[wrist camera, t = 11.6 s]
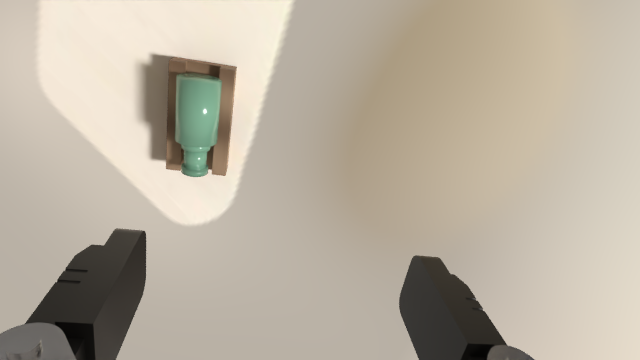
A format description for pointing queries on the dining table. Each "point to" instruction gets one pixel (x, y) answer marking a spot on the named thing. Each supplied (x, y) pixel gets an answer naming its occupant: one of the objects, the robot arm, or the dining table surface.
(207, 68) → the bottle rest
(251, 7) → the dining table surface
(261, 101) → the dining table surface
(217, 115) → the bottle
